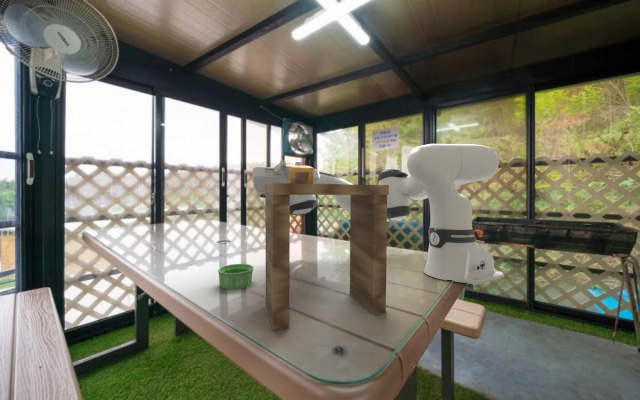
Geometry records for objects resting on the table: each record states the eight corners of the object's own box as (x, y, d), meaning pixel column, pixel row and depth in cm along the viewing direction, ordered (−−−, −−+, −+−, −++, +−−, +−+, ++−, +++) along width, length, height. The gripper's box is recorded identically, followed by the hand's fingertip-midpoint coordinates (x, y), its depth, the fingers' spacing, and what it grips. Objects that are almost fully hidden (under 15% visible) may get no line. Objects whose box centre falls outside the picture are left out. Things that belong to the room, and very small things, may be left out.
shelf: (359, 291, 63) (360, 186, 63) (387, 313, 52) (388, 185, 51) (265, 304, 56) (265, 185, 56) (273, 332, 45) (273, 183, 44)
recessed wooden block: (297, 174, 77) (297, 161, 76) (312, 185, 58) (313, 167, 57) (280, 174, 75) (280, 160, 75) (290, 185, 57) (291, 167, 56)
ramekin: (223, 293, 62) (223, 275, 62) (214, 283, 70) (214, 267, 69) (258, 285, 68) (258, 269, 67) (246, 276, 75) (246, 261, 75)
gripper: (314, 196, 86) (327, 173, 74) (251, 196, 79) (255, 171, 67) (311, 180, 89) (324, 155, 77) (250, 179, 82) (253, 152, 70)
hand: (291, 162), depth 72 cm, fingers closed on recessed wooden block, 3 cm apart
